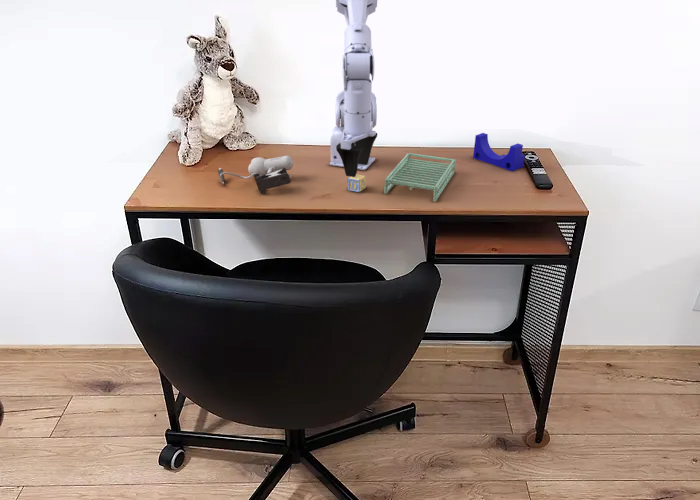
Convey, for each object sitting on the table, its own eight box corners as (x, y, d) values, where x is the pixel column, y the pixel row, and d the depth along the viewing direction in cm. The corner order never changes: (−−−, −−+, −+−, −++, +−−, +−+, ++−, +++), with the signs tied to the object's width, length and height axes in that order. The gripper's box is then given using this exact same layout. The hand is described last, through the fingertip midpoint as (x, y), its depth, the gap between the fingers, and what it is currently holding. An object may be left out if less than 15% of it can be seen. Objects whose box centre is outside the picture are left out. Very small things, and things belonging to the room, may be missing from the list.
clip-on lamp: (216, 204, 143) (292, 190, 141) (206, 180, 140) (284, 165, 137) (226, 179, 153) (297, 166, 150) (217, 156, 149) (290, 142, 147)
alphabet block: (347, 190, 143) (347, 177, 142) (354, 185, 146) (354, 173, 144) (359, 193, 142) (359, 180, 141) (365, 188, 145) (366, 175, 143)
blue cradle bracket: (523, 166, 157) (526, 143, 154) (512, 171, 154) (515, 147, 151) (483, 153, 164) (486, 131, 161) (473, 157, 162) (475, 135, 159)
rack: (435, 202, 138) (437, 187, 136) (383, 193, 142) (384, 179, 140) (454, 172, 153) (455, 159, 151) (406, 166, 157) (407, 152, 155)
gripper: (363, 122, 128) (362, 184, 134) (386, 103, 140) (384, 161, 146) (331, 118, 130) (332, 179, 137) (356, 100, 142) (355, 157, 148)
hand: (357, 169), depth 142 cm, fingers open, 7 cm apart
